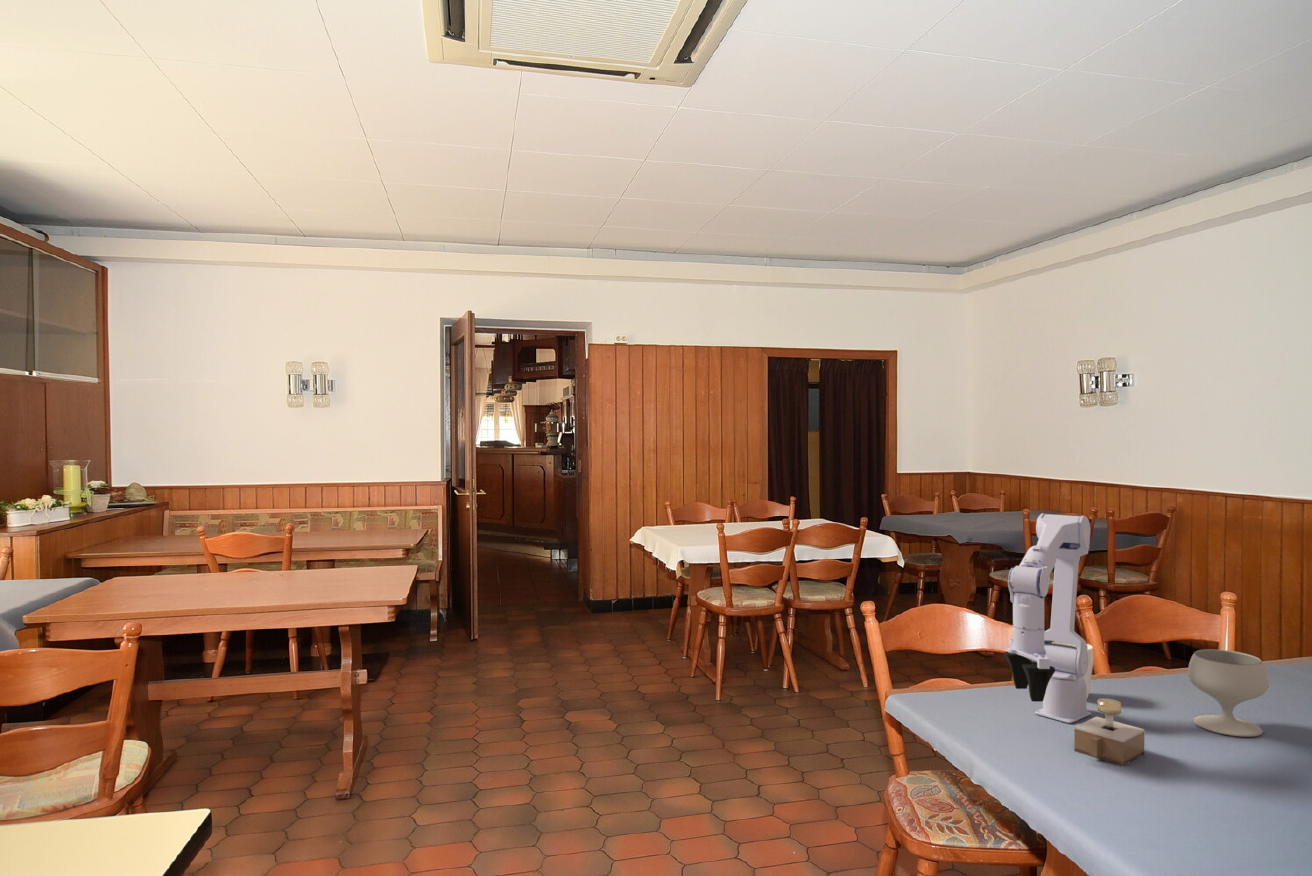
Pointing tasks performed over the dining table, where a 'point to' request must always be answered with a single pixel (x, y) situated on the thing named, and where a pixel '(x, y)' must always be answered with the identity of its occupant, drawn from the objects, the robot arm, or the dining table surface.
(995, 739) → the dining table surface
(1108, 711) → the plunger
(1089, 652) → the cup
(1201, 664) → the chalice
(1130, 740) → the tan box
